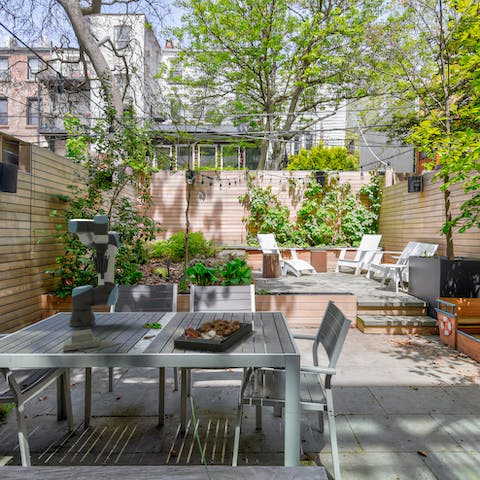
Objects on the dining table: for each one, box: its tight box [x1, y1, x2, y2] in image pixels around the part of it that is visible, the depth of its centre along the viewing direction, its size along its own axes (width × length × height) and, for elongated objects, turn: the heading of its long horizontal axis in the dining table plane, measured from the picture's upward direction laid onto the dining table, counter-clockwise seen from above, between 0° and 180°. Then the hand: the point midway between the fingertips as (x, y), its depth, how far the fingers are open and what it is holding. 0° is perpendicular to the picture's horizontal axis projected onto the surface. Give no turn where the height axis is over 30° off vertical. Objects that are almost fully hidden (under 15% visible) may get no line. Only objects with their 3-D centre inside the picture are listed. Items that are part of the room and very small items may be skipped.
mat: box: [76, 339, 122, 353], centre depth 177 cm, size 10×18×1 cm, turn 145°
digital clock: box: [62, 328, 101, 352], centre depth 175 cm, size 16×9×11 cm
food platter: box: [173, 318, 253, 353], centre depth 190 cm, size 45×25×10 cm, turn 161°
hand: (101, 284), depth 205 cm, fingers closed
